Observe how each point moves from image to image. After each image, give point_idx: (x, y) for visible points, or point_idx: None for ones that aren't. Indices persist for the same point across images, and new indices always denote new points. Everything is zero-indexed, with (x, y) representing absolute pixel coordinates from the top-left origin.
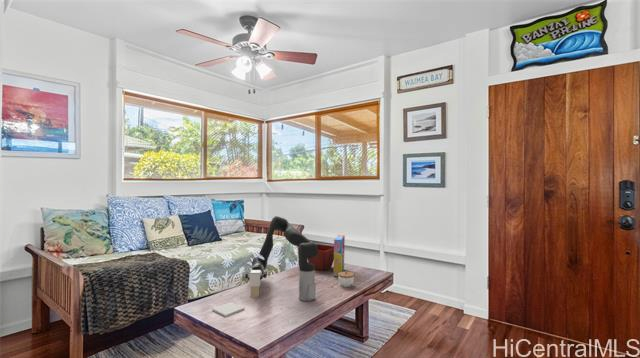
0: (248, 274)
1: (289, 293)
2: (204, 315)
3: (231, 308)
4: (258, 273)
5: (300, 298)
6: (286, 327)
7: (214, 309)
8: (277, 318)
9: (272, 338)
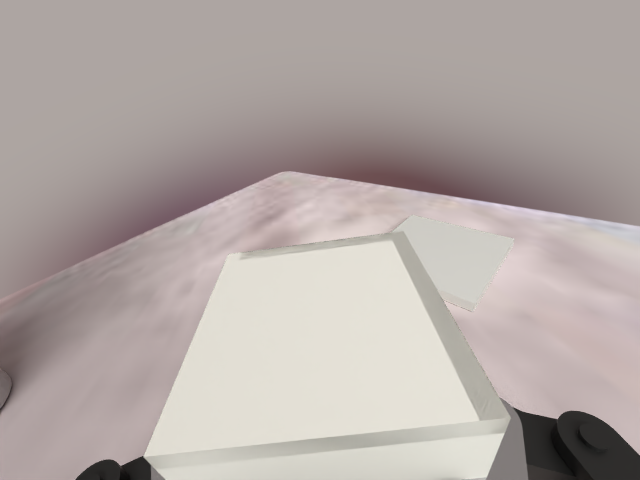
0: (508, 406)
1: None
2: (505, 219)
3: (419, 247)
4: (256, 256)
5: (4, 381)
6: (215, 209)
7: (495, 234)
8: (226, 233)
9: (257, 185)
